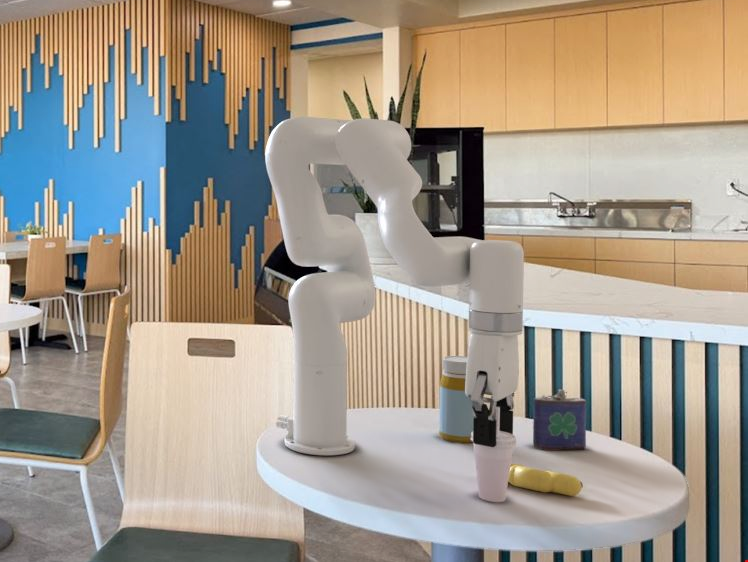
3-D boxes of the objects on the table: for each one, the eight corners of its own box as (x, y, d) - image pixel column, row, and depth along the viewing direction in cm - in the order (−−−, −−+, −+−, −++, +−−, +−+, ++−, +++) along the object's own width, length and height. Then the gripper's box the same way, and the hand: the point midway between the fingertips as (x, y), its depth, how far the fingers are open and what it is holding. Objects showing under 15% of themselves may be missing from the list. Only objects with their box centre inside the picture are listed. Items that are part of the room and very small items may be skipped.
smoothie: (511, 508, 127) (513, 414, 127) (465, 500, 131) (467, 408, 130) (518, 495, 133) (520, 404, 132) (473, 487, 136) (475, 399, 135)
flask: (581, 445, 158) (583, 387, 158) (589, 450, 155) (590, 391, 155) (530, 445, 158) (531, 387, 158) (537, 450, 156) (538, 391, 155)
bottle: (482, 436, 164) (483, 357, 164) (474, 445, 158) (475, 364, 158) (444, 430, 168) (445, 354, 167) (435, 439, 162) (436, 360, 161)
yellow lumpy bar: (480, 481, 139) (480, 461, 139) (489, 474, 142) (490, 455, 142) (576, 502, 130) (577, 481, 129) (584, 495, 133) (584, 474, 133)
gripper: (490, 313, 139) (488, 424, 140) (448, 326, 126) (446, 447, 127) (539, 318, 134) (537, 432, 135) (500, 332, 121) (498, 458, 122)
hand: (493, 438), depth 131 cm, fingers closed on smoothie, 6 cm apart
